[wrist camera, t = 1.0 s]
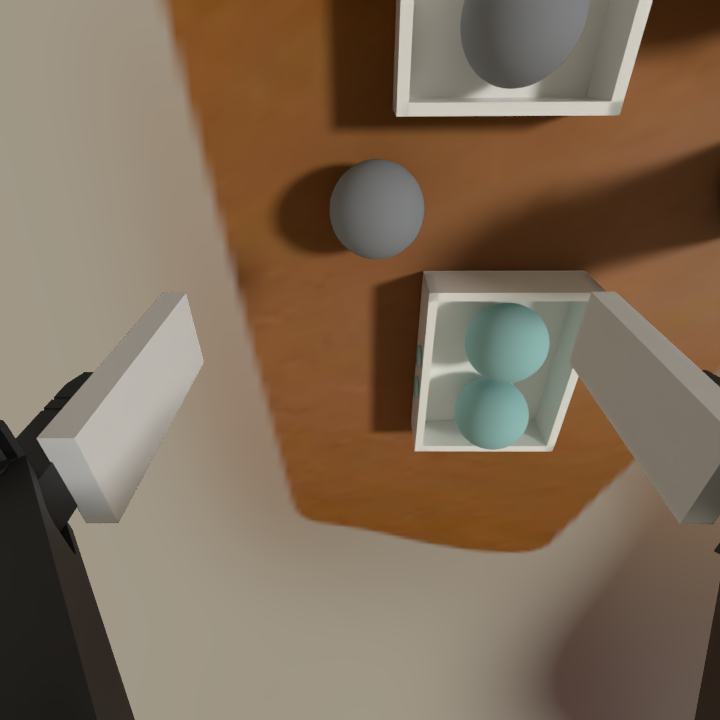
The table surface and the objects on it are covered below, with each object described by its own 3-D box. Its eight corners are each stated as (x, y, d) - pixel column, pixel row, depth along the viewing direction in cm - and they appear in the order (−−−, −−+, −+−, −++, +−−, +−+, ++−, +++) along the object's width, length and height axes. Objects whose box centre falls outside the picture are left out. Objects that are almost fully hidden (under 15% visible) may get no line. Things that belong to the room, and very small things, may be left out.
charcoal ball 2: (458, -51, 21) (484, -81, 16) (574, -52, 21) (634, -83, 16) (446, 86, 24) (465, 92, 19) (547, 85, 24) (590, 92, 19)
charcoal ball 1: (330, 151, 26) (323, 170, 22) (422, 150, 26) (434, 170, 22) (334, 240, 29) (328, 274, 25) (416, 240, 29) (425, 274, 25)
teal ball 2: (452, 363, 34) (466, 409, 30) (523, 363, 34) (547, 409, 30) (445, 415, 37) (456, 464, 33) (509, 415, 37) (529, 465, 33)
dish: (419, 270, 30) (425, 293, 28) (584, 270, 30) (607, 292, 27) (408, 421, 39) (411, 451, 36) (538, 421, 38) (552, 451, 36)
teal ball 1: (463, 288, 31) (480, 328, 26) (541, 288, 31) (572, 328, 26) (454, 353, 34) (468, 399, 29) (525, 353, 34) (550, 399, 29)
